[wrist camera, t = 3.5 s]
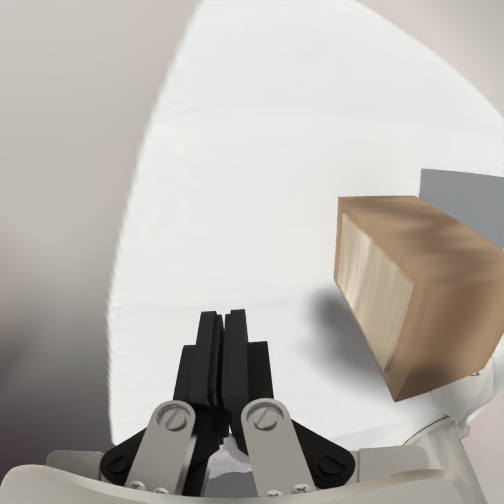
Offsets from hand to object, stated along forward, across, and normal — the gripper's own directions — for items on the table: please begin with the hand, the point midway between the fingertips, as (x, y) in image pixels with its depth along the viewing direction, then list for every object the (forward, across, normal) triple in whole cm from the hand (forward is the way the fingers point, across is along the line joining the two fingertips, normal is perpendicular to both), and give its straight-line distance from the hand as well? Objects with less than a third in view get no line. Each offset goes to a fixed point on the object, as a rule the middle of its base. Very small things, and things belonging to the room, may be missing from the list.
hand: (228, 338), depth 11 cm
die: (+9, -24, +17) cm, 31 cm away
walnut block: (+9, -10, 0) cm, 13 cm away
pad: (+8, -20, 0) cm, 21 cm away
